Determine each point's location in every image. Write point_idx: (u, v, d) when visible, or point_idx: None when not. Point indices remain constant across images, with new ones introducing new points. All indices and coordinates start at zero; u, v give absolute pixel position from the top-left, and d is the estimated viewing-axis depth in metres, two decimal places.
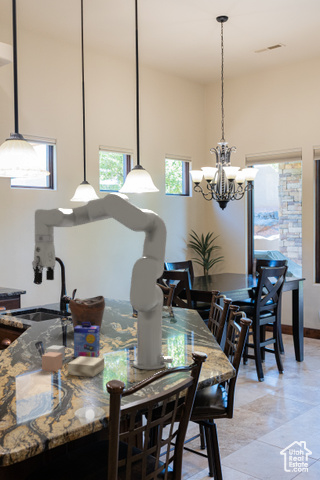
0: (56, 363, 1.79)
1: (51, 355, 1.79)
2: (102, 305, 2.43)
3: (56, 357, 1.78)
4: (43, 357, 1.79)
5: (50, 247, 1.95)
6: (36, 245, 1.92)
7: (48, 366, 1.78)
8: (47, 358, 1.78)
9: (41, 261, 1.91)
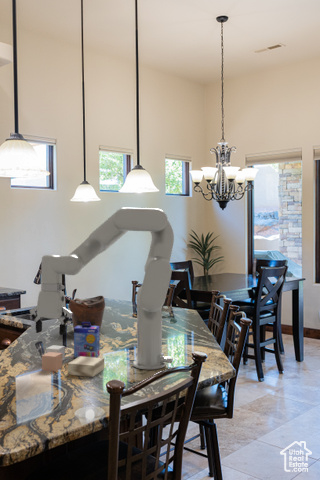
0: (56, 363, 1.79)
1: (51, 355, 1.79)
2: (102, 305, 2.43)
3: (56, 357, 1.78)
4: (43, 357, 1.79)
5: None
6: (60, 295, 1.78)
7: (48, 366, 1.78)
8: (47, 358, 1.78)
9: None
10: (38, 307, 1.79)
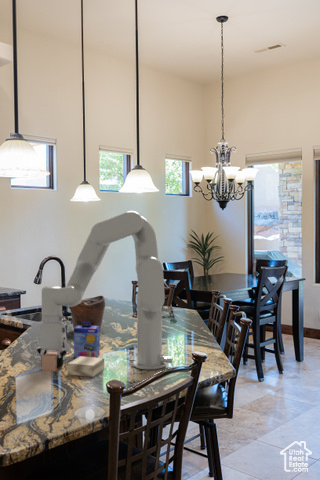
0: (56, 363, 1.79)
1: (51, 355, 1.79)
2: (102, 305, 2.43)
3: (56, 357, 1.78)
4: (43, 357, 1.79)
5: None
6: (61, 326, 1.78)
7: (48, 366, 1.78)
8: (47, 358, 1.78)
9: None
10: (39, 339, 1.80)
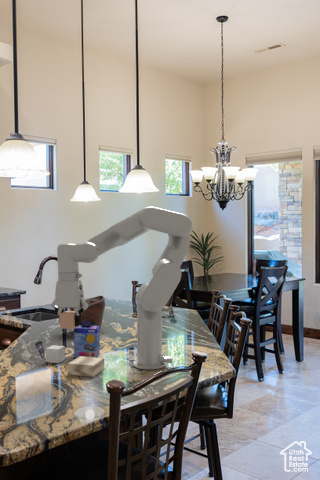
0: (74, 320, 1.76)
1: (69, 313, 1.77)
2: (102, 305, 2.43)
3: (74, 314, 1.76)
4: (61, 315, 1.77)
5: None
6: (78, 283, 1.76)
7: (65, 324, 1.76)
8: (65, 316, 1.76)
9: None
10: (56, 297, 1.78)
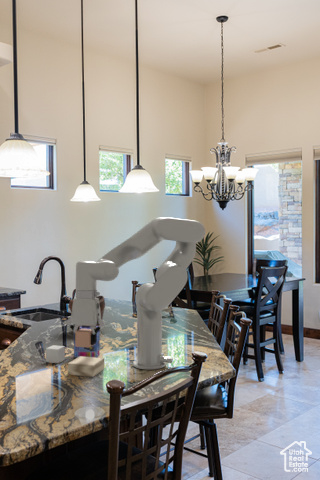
0: (90, 339, 1.74)
1: (85, 331, 1.75)
2: (102, 305, 2.43)
3: (90, 333, 1.74)
4: (77, 333, 1.75)
5: None
6: (95, 301, 1.74)
7: (81, 342, 1.74)
8: (81, 334, 1.74)
9: None
10: (73, 314, 1.76)
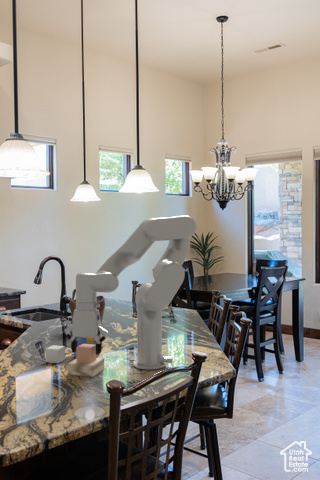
0: (91, 355, 1.75)
1: (86, 347, 1.75)
2: (102, 305, 2.43)
3: (91, 349, 1.74)
4: (78, 349, 1.75)
5: None
6: (96, 313, 1.74)
7: (82, 358, 1.74)
8: (82, 350, 1.74)
9: None
10: (73, 326, 1.76)
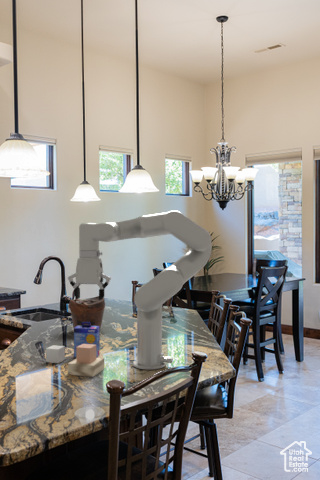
0: (91, 355, 1.75)
1: (86, 347, 1.75)
2: (102, 305, 2.43)
3: (91, 349, 1.74)
4: (78, 349, 1.75)
5: None
6: (99, 261, 1.84)
7: (82, 358, 1.74)
8: (82, 350, 1.74)
9: None
10: (77, 274, 1.85)
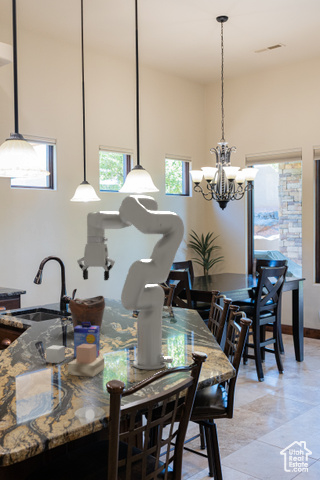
0: (91, 355, 1.75)
1: (86, 347, 1.75)
2: (102, 305, 2.43)
3: (91, 349, 1.74)
4: (78, 349, 1.75)
5: None
6: (104, 246, 2.07)
7: (82, 358, 1.74)
8: (82, 350, 1.74)
9: None
10: (85, 257, 2.09)
